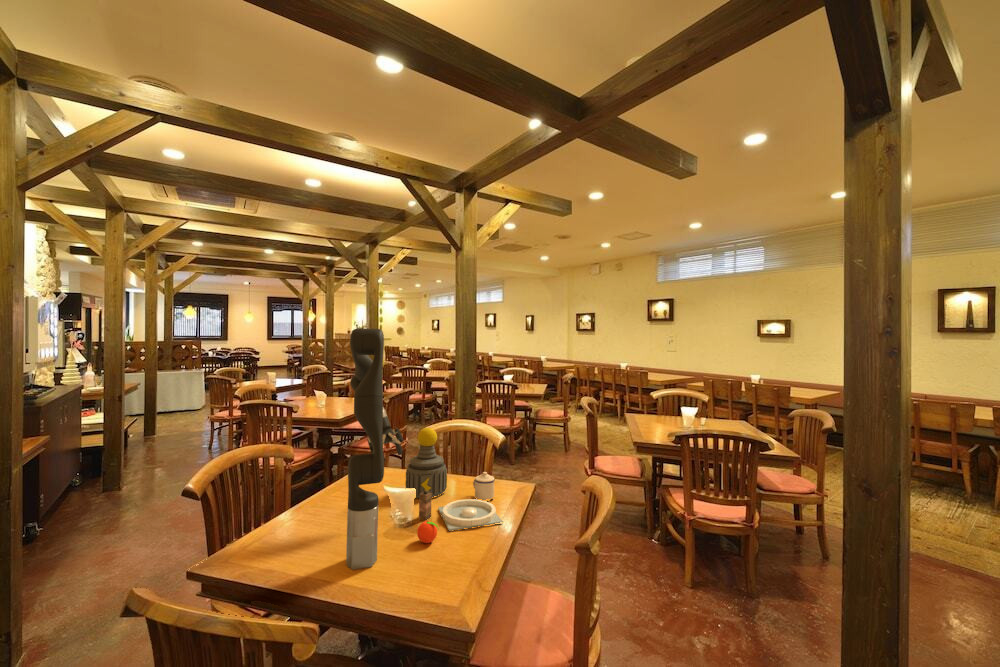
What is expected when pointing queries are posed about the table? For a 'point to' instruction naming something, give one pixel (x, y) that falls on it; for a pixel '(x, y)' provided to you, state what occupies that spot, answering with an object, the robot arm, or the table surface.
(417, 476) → the decorative lamp
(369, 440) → the robot arm
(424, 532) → the clementine
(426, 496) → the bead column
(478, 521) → the groove dish
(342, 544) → the table surface
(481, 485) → the teacup with lid
